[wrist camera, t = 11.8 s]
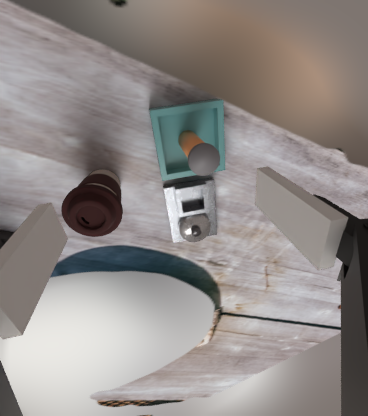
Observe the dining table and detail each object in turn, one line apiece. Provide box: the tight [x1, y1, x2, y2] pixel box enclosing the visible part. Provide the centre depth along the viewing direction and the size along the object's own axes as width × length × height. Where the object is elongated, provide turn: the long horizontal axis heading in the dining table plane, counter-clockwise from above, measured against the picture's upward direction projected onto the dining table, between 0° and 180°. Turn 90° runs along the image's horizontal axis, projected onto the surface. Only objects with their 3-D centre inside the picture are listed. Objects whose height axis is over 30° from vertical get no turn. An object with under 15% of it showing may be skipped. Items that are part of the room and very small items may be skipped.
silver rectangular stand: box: [163, 178, 217, 243], centre depth 55 cm, size 12×17×5 cm
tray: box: [149, 99, 225, 181], centre depth 47 cm, size 14×14×4 cm
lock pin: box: [178, 130, 220, 176], centre depth 41 cm, size 5×5×15 cm
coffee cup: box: [62, 169, 123, 237], centre depth 44 cm, size 10×10×15 cm
